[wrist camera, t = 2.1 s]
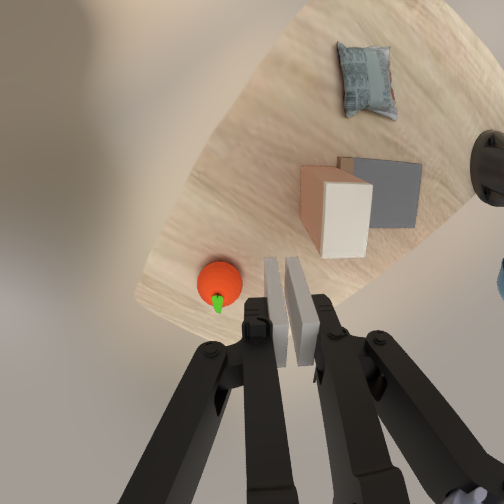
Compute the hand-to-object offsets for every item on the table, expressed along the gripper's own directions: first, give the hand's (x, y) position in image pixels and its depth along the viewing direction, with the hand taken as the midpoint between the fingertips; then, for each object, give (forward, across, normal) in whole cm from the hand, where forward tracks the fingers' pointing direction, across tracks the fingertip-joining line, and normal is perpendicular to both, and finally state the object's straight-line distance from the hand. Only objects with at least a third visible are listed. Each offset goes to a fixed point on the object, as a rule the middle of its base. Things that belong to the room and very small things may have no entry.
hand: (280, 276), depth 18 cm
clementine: (+25, +7, +14) cm, 29 cm away
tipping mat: (+24, -19, 0) cm, 31 cm away
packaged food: (+25, -16, -18) cm, 34 cm away
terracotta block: (+24, -8, 0) cm, 26 cm away
